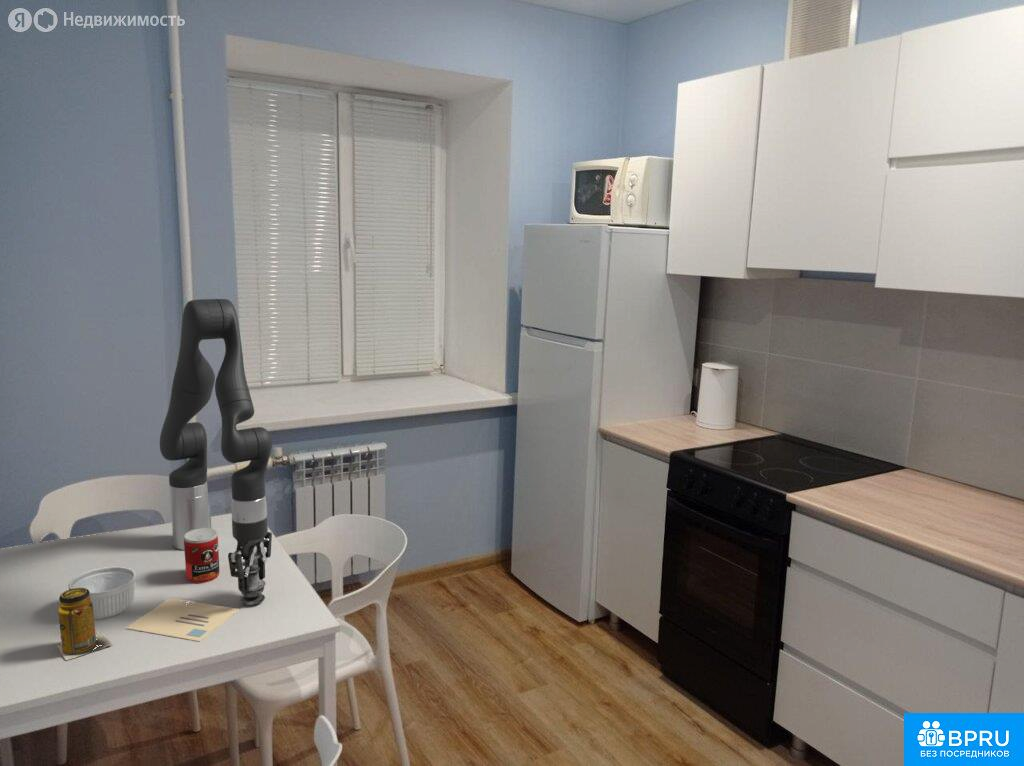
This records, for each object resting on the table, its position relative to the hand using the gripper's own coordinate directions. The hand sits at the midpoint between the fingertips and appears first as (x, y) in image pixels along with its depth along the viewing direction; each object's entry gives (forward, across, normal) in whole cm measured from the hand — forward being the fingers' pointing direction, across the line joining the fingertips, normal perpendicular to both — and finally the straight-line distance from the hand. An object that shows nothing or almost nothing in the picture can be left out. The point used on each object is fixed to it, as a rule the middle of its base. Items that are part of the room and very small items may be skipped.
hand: (252, 584), depth 172 cm
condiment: (+5, -26, +22) cm, 34 cm away
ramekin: (+5, -12, +30) cm, 32 cm away
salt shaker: (+4, 0, 0) cm, 4 cm away
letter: (+4, -11, +10) cm, 15 cm away
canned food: (+5, +8, +19) cm, 21 cm away
